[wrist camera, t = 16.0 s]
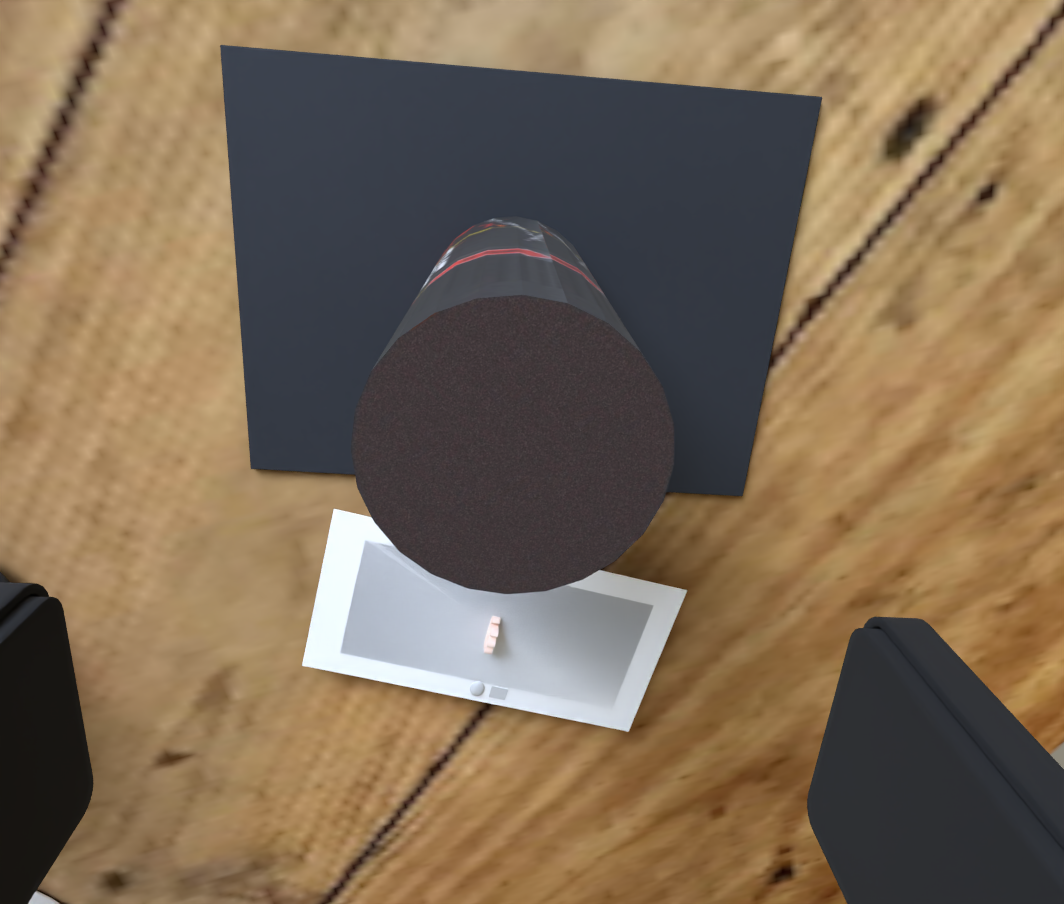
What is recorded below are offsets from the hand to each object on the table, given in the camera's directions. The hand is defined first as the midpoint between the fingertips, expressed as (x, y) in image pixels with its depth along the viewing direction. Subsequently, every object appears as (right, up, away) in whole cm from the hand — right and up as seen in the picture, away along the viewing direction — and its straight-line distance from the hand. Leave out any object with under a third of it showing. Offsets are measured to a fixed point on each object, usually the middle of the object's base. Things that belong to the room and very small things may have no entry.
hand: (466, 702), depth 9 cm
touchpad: (-1, -4, +24) cm, 25 cm away
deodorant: (0, +9, +19) cm, 21 cm away
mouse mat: (0, +9, +19) cm, 21 cm away
